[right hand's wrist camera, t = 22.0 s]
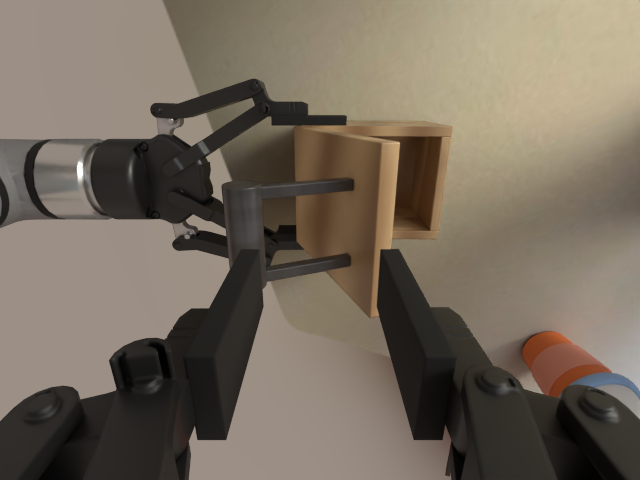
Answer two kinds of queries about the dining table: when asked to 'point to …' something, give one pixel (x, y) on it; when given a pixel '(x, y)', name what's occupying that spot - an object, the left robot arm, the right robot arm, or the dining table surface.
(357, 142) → the lid
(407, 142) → the chest
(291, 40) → the dining table surface
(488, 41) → the dining table surface
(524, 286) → the dining table surface
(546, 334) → the cup with straw
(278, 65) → the dining table surface
